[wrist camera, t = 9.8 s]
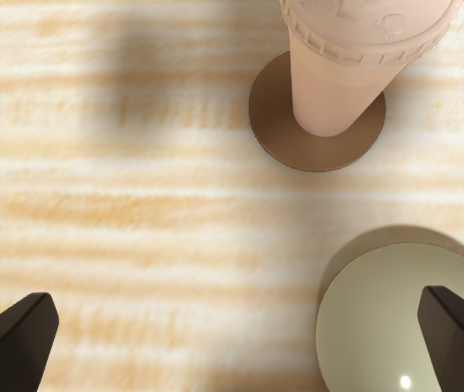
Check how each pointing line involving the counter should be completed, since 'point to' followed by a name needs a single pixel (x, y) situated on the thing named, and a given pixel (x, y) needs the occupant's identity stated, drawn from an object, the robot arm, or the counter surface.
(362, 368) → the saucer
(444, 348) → the robot arm
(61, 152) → the counter surface
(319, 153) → the disc
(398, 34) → the smoothie
